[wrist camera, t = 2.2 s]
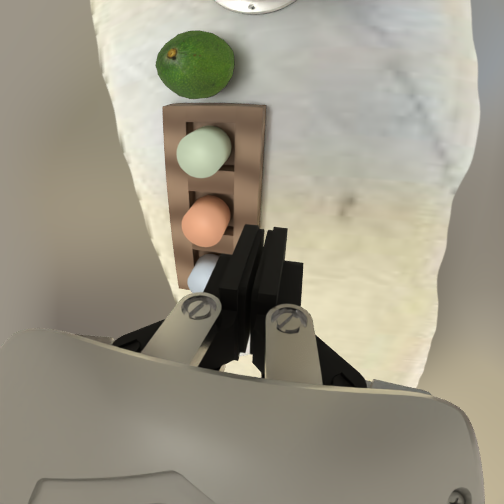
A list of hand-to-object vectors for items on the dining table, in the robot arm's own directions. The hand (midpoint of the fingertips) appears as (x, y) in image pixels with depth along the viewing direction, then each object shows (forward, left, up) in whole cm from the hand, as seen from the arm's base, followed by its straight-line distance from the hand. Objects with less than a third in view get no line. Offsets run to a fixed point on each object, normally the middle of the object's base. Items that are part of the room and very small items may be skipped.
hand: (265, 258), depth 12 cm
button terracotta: (+11, -10, -24) cm, 28 cm away
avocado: (-8, -11, -27) cm, 30 cm away
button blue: (+20, -10, -24) cm, 32 cm away
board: (+11, -10, -27) cm, 30 cm away
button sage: (+2, -10, -24) cm, 26 cm away
